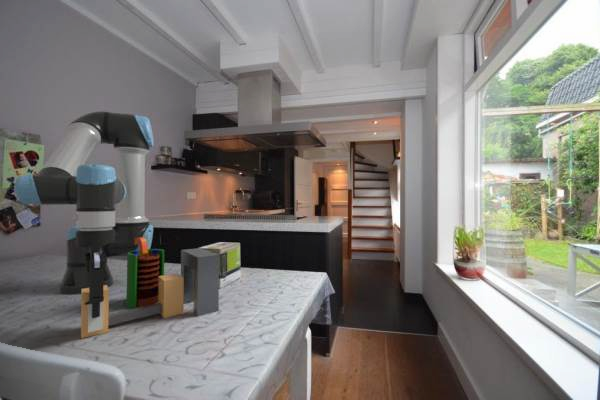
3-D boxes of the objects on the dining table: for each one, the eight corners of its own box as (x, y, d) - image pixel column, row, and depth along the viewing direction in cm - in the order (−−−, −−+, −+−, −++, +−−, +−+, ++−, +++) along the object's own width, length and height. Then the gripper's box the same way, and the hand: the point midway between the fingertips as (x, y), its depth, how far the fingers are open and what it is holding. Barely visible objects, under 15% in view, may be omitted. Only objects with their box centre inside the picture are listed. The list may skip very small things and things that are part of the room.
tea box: (220, 276, 113) (220, 241, 113) (241, 278, 110) (241, 242, 110) (196, 286, 98) (196, 246, 99) (220, 289, 95) (220, 248, 96)
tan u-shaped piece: (80, 329, 65) (81, 288, 65) (177, 307, 79) (177, 273, 79) (81, 339, 60) (81, 294, 60) (183, 313, 74) (183, 277, 74)
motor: (143, 309, 77) (144, 240, 77) (117, 307, 79) (118, 239, 79) (167, 297, 87) (168, 236, 87) (144, 295, 89) (144, 235, 89)
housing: (180, 301, 84) (181, 250, 84) (199, 296, 88) (200, 248, 88) (197, 316, 72) (197, 257, 72) (218, 310, 76) (218, 254, 76)
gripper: (76, 227, 69) (74, 317, 68) (75, 233, 55) (73, 346, 55) (111, 225, 74) (110, 310, 73) (119, 230, 60) (117, 335, 59)
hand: (94, 325), depth 64 cm, fingers closed on tan u-shaped piece, 5 cm apart
